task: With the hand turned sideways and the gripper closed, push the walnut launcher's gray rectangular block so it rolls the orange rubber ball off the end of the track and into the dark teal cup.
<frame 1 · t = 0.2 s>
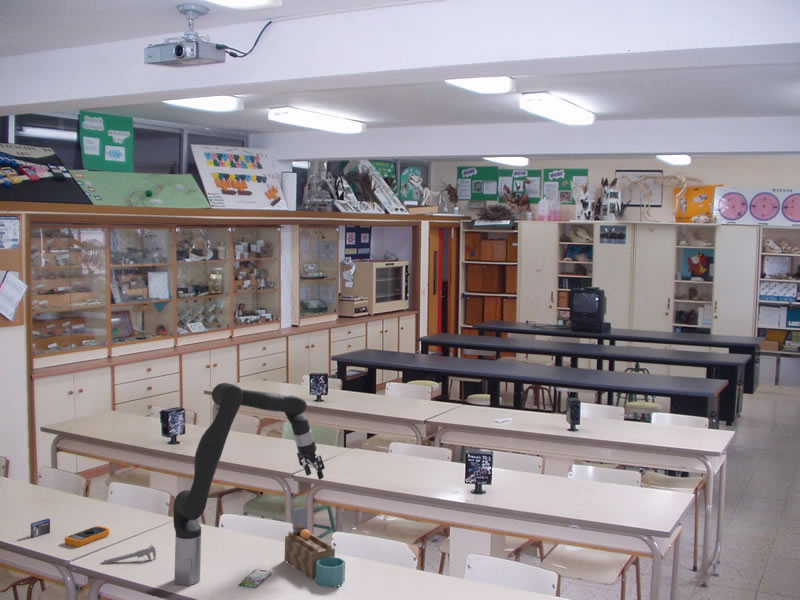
hand: (315, 476, 332), 31 cm above the table, tool tilted 20°, fingers open, 8 cm apart
ball: (305, 534, 316), point 12 cm above the table, touching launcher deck
gray rectangular block: (300, 522, 320), point 16 cm above the table, slide at 0.0 cm
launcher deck: (308, 567, 314), on the table
mini dv tape: (40, 535, 340), on the table
smartphone: (255, 581, 301), on the table
caliper: (128, 562, 314), on the table
cup: (330, 581, 301), on the table
multimeter: (87, 540, 337), on the table
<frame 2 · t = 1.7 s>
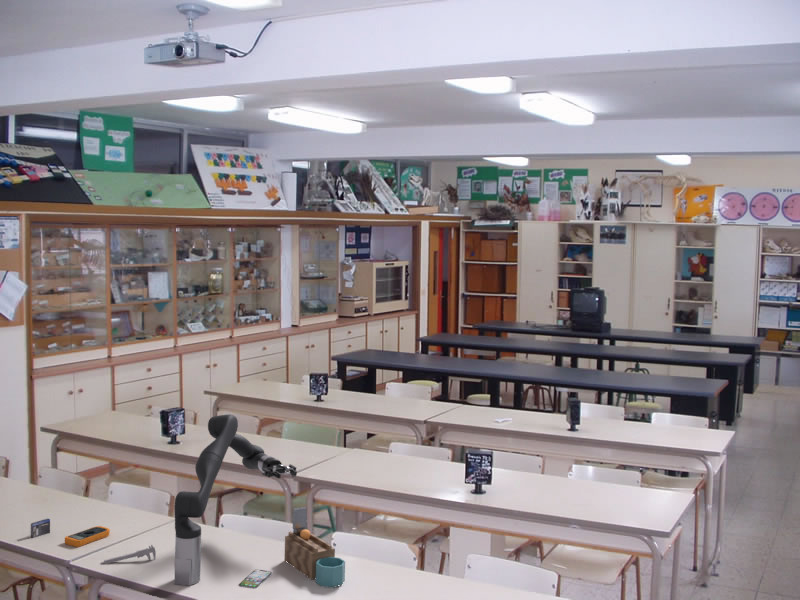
hand: (287, 474, 329), 32 cm above the table, tool horizontal, fingers open, 6 cm apart
nothing on the table moved.
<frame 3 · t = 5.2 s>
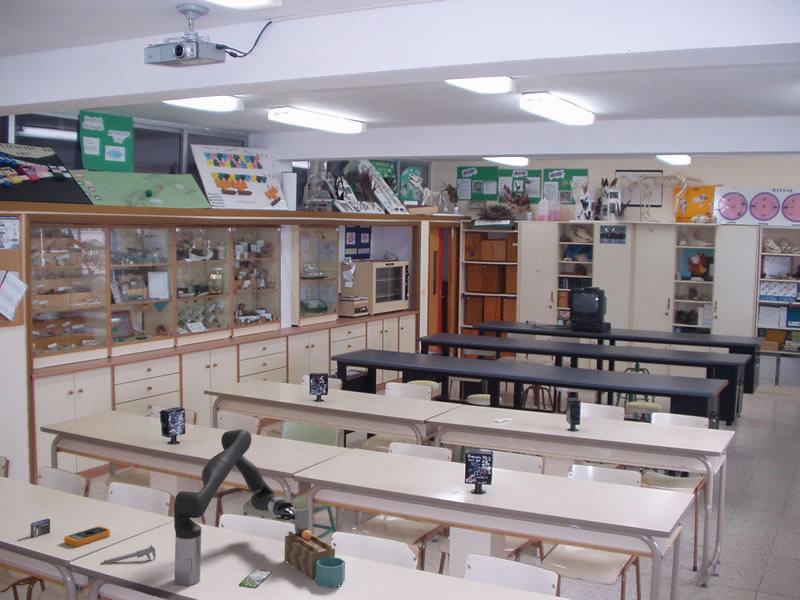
hand: (300, 519, 320), 17 cm above the table, tool horizontal, fingers closed
ball: (306, 535, 316), point 12 cm above the table, tilted 24°, touching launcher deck
gray rectangular block: (302, 523, 319), point 16 cm above the table, slide at 1.8 cm, touching gripper
everything else where it was.
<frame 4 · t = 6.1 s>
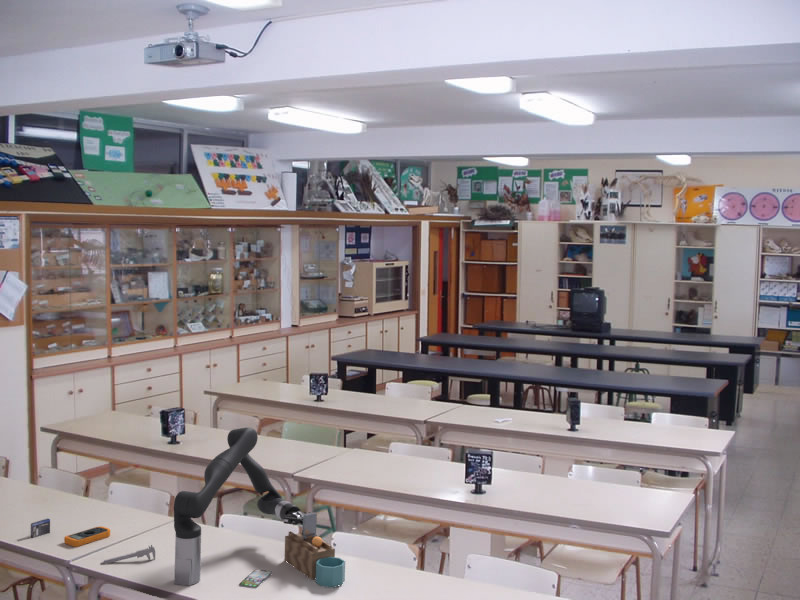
hand: (308, 523, 314), 17 cm above the table, tool horizontal, fingers closed
ball: (317, 541, 309), point 12 cm above the table, tilted 94°, touching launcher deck
gray rectangular block: (310, 528, 313), point 16 cm above the table, slide at 8.2 cm, touching gripper
everything else where it was.
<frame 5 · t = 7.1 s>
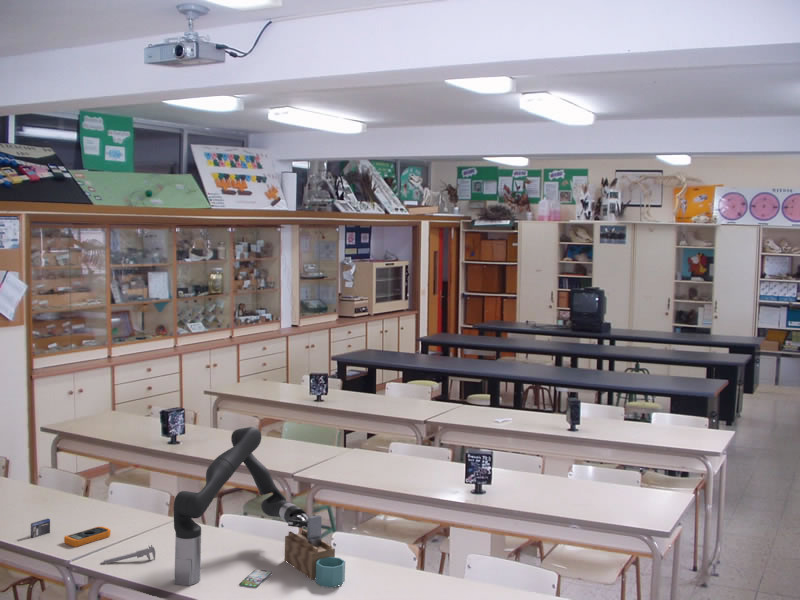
hand: (313, 526, 311), 17 cm above the table, tool horizontal, fingers closed
ball: (333, 577, 299), point 3 cm above the table, tilted 16°, touching cup
gray rectangular block: (314, 530, 310), point 16 cm above the table, slide at 12.0 cm, touching gripper
everything else where it was.
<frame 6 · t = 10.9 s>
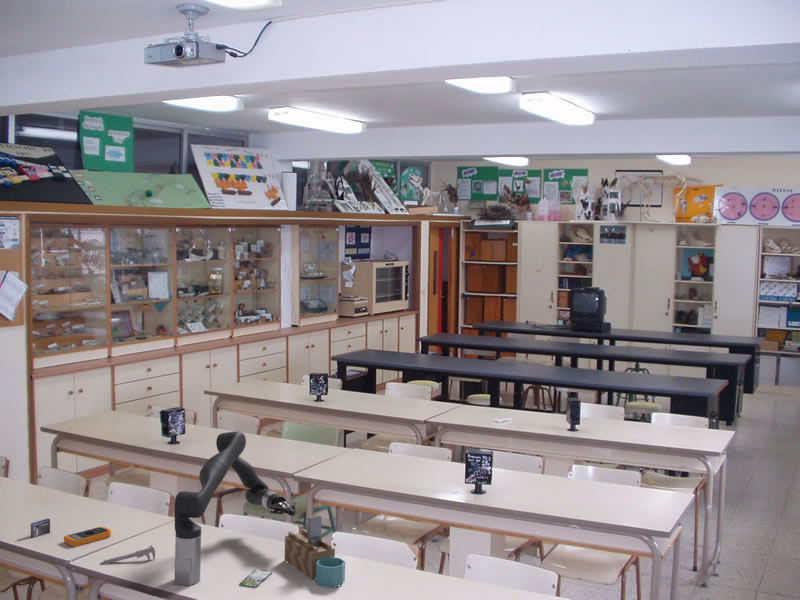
hand: (293, 513, 325), 18 cm above the table, tool horizontal, fingers closed
gray rectangular block: (314, 530, 310), point 16 cm above the table, slide at 12.0 cm
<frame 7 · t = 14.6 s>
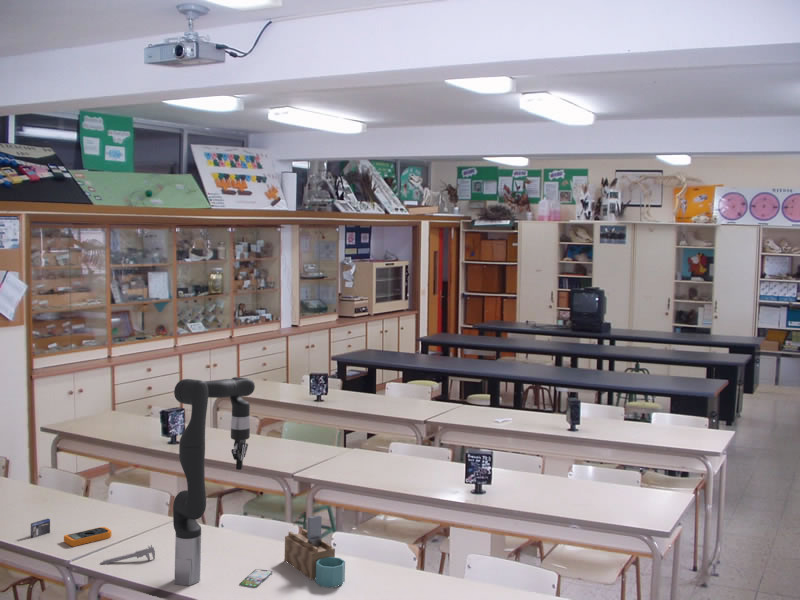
hand: (239, 469, 324), 35 cm above the table, tool pointing down, fingers closed
at the end: ball inside the target area on the cup (2.4 cm from its centre), point 2.6 cm above the cup's base; gray rectangular block slide at 12.0 cm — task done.
